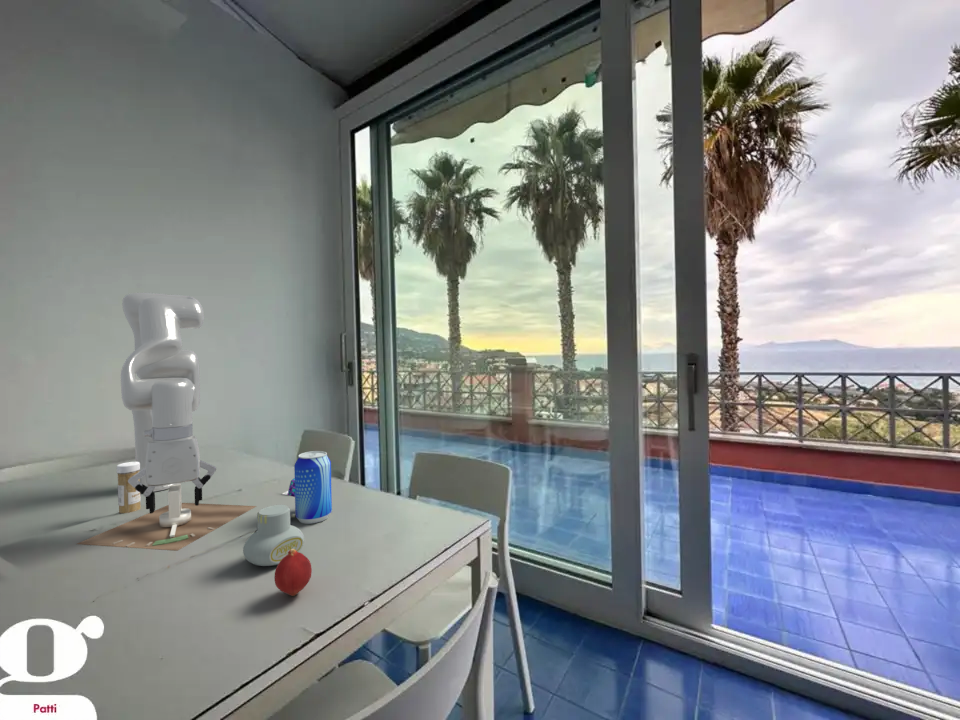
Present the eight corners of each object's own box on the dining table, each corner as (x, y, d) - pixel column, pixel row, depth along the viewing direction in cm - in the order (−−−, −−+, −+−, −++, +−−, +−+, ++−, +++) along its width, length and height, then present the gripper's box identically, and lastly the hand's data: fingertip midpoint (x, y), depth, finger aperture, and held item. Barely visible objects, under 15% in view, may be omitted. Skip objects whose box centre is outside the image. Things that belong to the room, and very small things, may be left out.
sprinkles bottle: (140, 516, 106) (138, 463, 106) (116, 520, 103) (114, 466, 103) (142, 510, 110) (140, 460, 109) (119, 514, 107) (118, 462, 107)
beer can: (339, 514, 106) (338, 451, 105) (313, 527, 98) (311, 460, 98) (314, 509, 109) (313, 448, 109) (287, 521, 102) (286, 456, 101)
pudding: (276, 506, 113) (276, 487, 113) (282, 492, 124) (281, 474, 124) (323, 500, 117) (323, 482, 116) (325, 487, 128) (324, 470, 128)
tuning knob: (161, 520, 99) (160, 486, 99) (191, 514, 102) (190, 482, 102) (154, 540, 88) (153, 503, 88) (189, 533, 92) (188, 497, 91)
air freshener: (259, 577, 77) (258, 524, 77) (235, 565, 81) (234, 514, 81) (311, 552, 86) (310, 504, 86) (287, 543, 90) (286, 497, 90)
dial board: (174, 507, 111) (174, 501, 111) (256, 511, 108) (256, 505, 108) (76, 550, 88) (75, 543, 88) (177, 557, 84) (177, 549, 84)
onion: (282, 586, 74) (281, 541, 74) (316, 584, 74) (315, 539, 74) (269, 606, 68) (268, 557, 68) (305, 604, 69) (304, 556, 68)
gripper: (121, 440, 90) (123, 521, 90) (217, 431, 99) (218, 504, 99) (127, 434, 96) (130, 510, 96) (217, 426, 105) (219, 495, 106)
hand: (175, 507), depth 98 cm, fingers open, 8 cm apart
